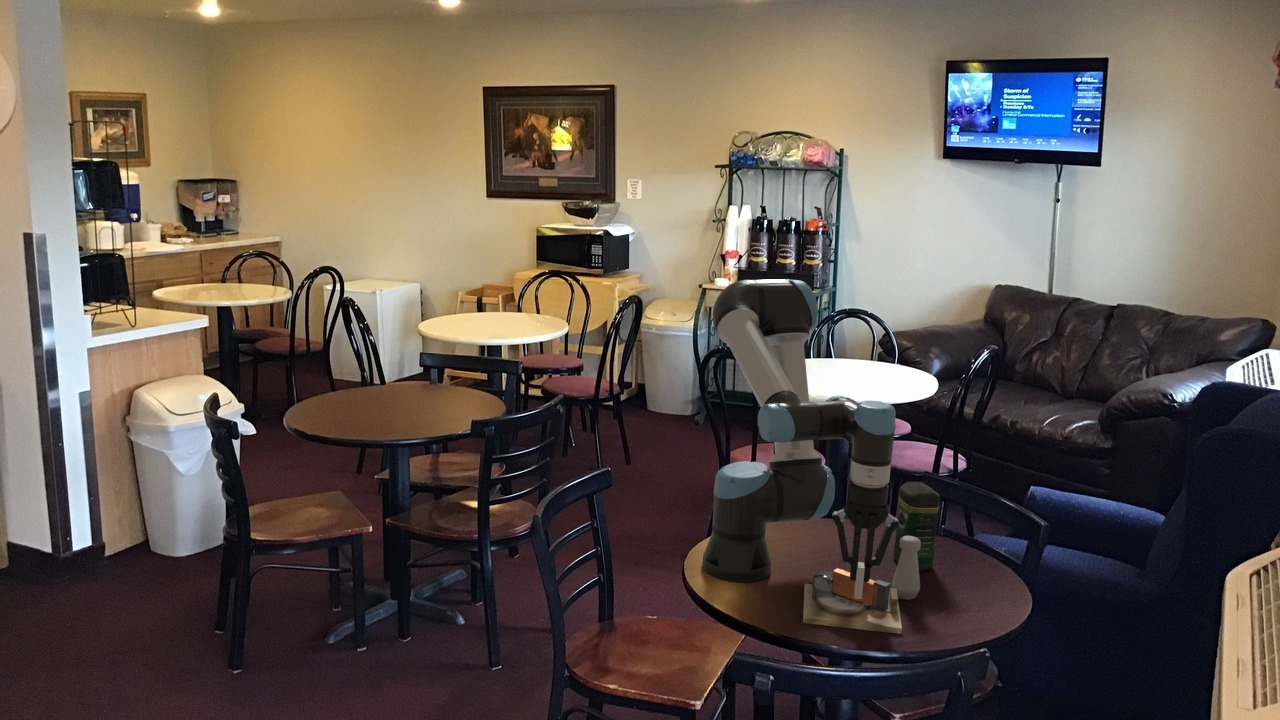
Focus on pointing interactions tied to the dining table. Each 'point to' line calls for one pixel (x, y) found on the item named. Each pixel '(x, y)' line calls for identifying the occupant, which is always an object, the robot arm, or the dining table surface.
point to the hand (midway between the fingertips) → (857, 595)
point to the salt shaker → (907, 569)
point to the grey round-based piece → (847, 593)
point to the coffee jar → (918, 520)
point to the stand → (864, 620)
